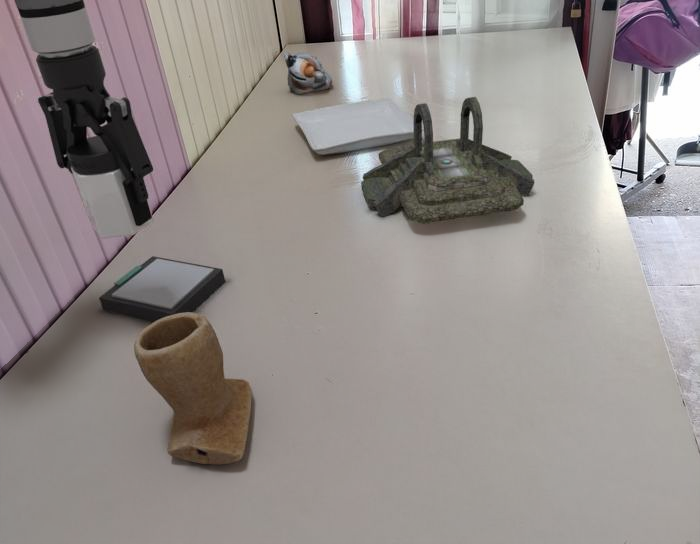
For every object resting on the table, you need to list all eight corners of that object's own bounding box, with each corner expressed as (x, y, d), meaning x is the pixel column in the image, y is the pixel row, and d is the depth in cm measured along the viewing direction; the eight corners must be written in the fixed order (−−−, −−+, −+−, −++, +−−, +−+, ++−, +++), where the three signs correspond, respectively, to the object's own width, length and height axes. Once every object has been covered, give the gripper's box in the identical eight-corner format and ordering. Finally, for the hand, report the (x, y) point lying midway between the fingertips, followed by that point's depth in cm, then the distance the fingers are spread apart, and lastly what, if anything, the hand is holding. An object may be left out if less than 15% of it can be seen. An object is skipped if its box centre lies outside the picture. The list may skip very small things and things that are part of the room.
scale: (102, 310, 105) (97, 295, 103) (155, 267, 115) (151, 253, 113) (176, 327, 100) (171, 312, 98) (225, 281, 109) (221, 266, 108)
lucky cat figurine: (341, 85, 195) (336, 48, 182) (318, 111, 192) (311, 75, 179) (303, 66, 199) (295, 28, 186) (279, 91, 196) (270, 55, 183)
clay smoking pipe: (173, 391, 87) (143, 300, 78) (258, 385, 87) (238, 293, 78) (147, 476, 76) (107, 381, 66) (246, 469, 75) (220, 373, 66)
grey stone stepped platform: (559, 217, 118) (573, 119, 107) (382, 243, 116) (377, 145, 104) (496, 150, 145) (502, 66, 134) (352, 169, 143) (345, 86, 132)
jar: (87, 223, 95) (58, 144, 87) (139, 206, 98) (115, 128, 90) (105, 245, 88) (75, 162, 81) (160, 226, 92) (136, 145, 84)
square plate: (292, 127, 169) (290, 112, 166) (390, 110, 173) (389, 95, 171) (314, 163, 148) (312, 146, 145) (425, 143, 152) (425, 127, 150)
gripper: (151, 44, 77) (194, 215, 91) (29, 39, 85) (86, 198, 99) (108, 60, 72) (161, 239, 86) (-17, 54, 80) (50, 219, 94)
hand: (121, 217), depth 92 cm, fingers closed on jar, 8 cm apart
